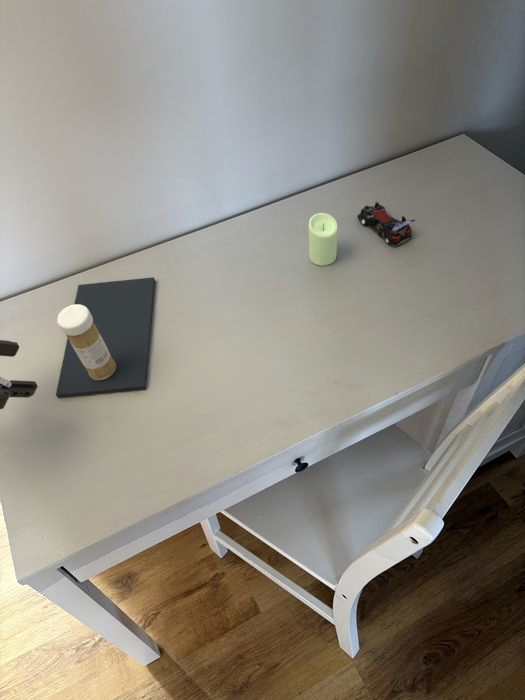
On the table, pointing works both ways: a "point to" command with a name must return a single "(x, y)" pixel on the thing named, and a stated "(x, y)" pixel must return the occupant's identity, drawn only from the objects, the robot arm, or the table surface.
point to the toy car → (385, 224)
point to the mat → (113, 337)
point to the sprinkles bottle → (86, 341)
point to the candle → (322, 239)
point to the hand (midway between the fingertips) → (25, 368)
